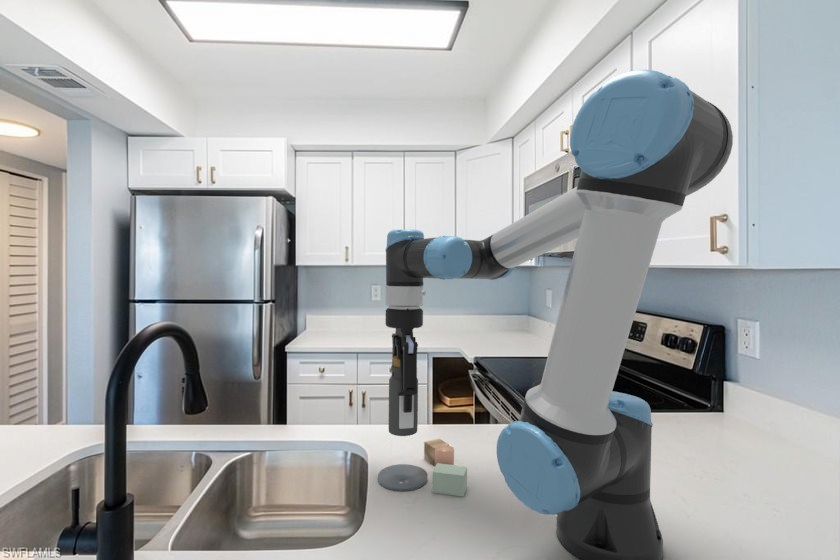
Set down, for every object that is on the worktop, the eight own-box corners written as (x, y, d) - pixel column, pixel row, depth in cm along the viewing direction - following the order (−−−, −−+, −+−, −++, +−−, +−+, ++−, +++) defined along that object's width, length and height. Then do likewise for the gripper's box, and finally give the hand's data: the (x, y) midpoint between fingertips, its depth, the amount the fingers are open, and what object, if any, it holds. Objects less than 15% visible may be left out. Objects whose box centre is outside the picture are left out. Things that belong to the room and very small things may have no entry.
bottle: (418, 426, 90) (419, 354, 90) (415, 437, 84) (416, 360, 84) (391, 425, 90) (391, 353, 90) (386, 435, 85) (386, 359, 84)
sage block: (463, 497, 81) (463, 475, 81) (432, 492, 82) (432, 471, 82) (466, 487, 84) (467, 466, 84) (436, 483, 86) (437, 463, 86)
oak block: (448, 462, 95) (449, 444, 95) (433, 466, 93) (433, 447, 93) (439, 456, 99) (439, 438, 99) (424, 459, 97) (424, 441, 97)
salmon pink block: (456, 476, 89) (456, 451, 89) (437, 478, 88) (437, 453, 88) (450, 467, 93) (450, 444, 93) (432, 469, 92) (432, 445, 92)
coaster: (433, 488, 84) (433, 484, 84) (381, 493, 81) (381, 489, 81) (421, 466, 93) (421, 462, 93) (374, 470, 91) (374, 466, 91)
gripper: (435, 311, 79) (433, 437, 79) (412, 304, 97) (411, 406, 97) (394, 311, 77) (392, 441, 77) (379, 304, 95) (377, 408, 95)
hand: (402, 421), depth 87 cm, fingers closed on bottle, 6 cm apart
